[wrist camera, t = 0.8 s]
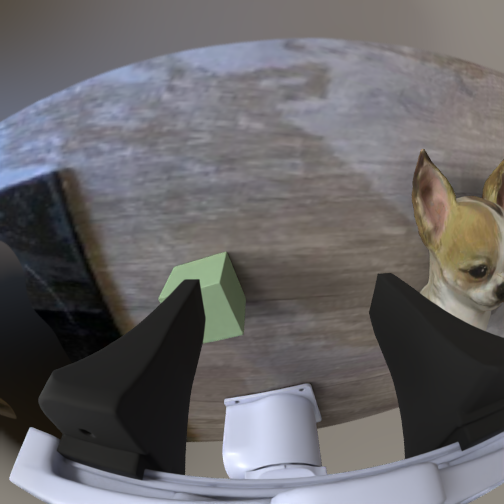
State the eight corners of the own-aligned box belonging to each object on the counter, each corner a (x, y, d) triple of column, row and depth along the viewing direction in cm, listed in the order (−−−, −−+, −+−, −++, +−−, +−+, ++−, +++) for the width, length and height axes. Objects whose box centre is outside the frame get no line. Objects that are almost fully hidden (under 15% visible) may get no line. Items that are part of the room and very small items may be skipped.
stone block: (479, 345, 29) (534, 300, 24) (489, 373, 25) (549, 326, 20) (444, 305, 26) (511, 246, 21) (457, 338, 23) (533, 274, 17)
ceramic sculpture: (422, 389, 16) (467, 158, 11) (384, 321, 24) (394, 145, 19) (518, 353, 16) (563, 171, 10) (472, 303, 24) (492, 153, 18)
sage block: (196, 311, 24) (186, 347, 20) (173, 266, 23) (157, 298, 19) (246, 298, 24) (243, 335, 20) (226, 251, 22) (219, 282, 18)
